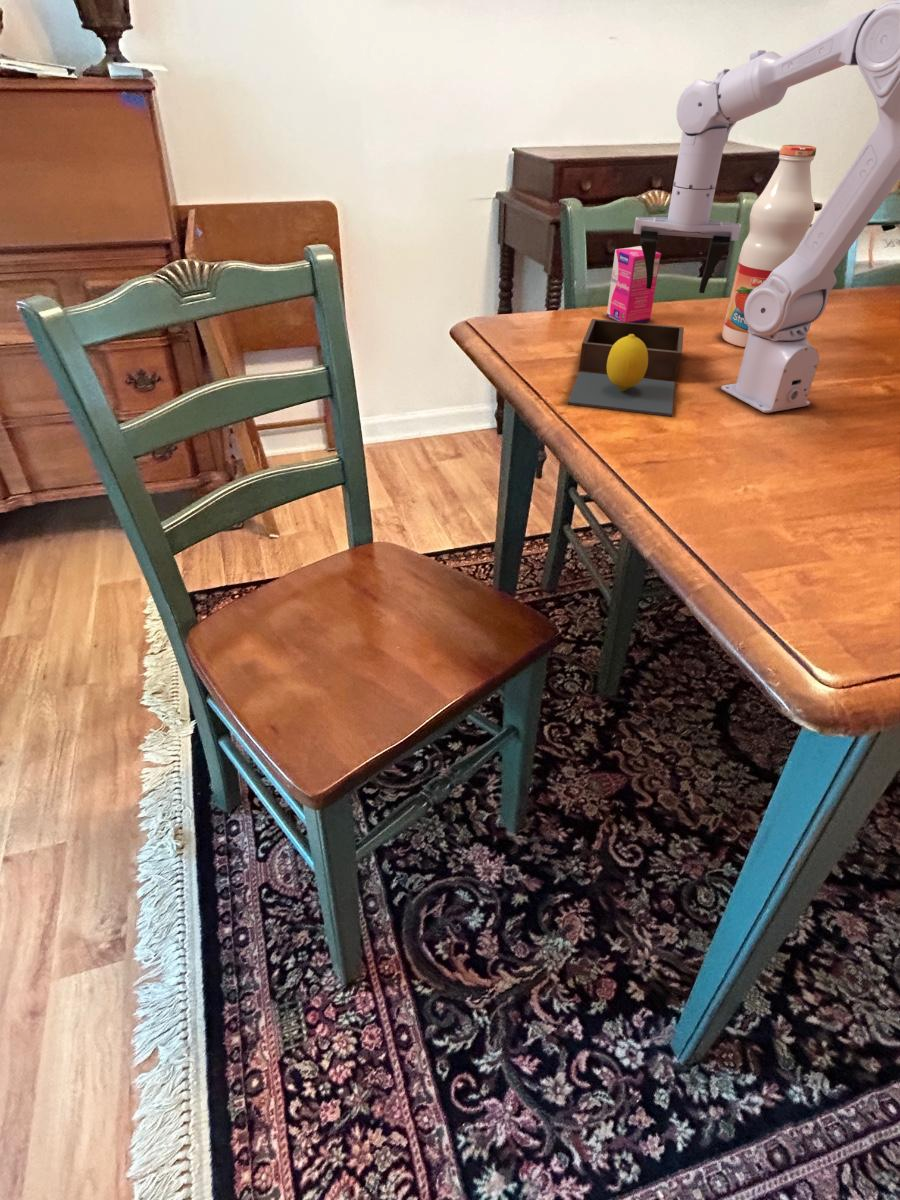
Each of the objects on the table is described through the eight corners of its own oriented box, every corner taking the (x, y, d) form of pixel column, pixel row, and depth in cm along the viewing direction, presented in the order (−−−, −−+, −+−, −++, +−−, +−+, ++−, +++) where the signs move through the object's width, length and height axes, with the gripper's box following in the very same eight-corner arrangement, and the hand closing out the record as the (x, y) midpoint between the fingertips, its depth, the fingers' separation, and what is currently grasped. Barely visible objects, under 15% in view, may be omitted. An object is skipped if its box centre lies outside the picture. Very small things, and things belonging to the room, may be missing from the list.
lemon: (640, 384, 107) (650, 328, 102) (644, 399, 103) (654, 341, 98) (601, 383, 107) (609, 326, 103) (604, 397, 103) (612, 340, 98)
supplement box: (604, 316, 134) (614, 248, 127) (631, 312, 136) (642, 245, 129) (623, 326, 130) (634, 255, 123) (651, 321, 132) (663, 252, 125)
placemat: (674, 384, 109) (675, 381, 108) (671, 416, 99) (672, 413, 99) (579, 374, 111) (579, 371, 111) (567, 404, 102) (567, 401, 102)
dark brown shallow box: (678, 354, 119) (684, 327, 116) (676, 382, 109) (682, 353, 107) (588, 345, 122) (591, 318, 119) (578, 371, 112) (581, 343, 110)
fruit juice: (772, 332, 128) (824, 143, 111) (785, 351, 120) (842, 151, 103) (716, 330, 129) (759, 141, 112) (725, 348, 121) (772, 149, 104)
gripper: (747, 184, 104) (724, 286, 113) (643, 179, 107) (628, 278, 115) (750, 192, 99) (725, 298, 107) (639, 186, 102) (624, 290, 110)
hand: (675, 289), depth 111 cm, fingers open, 7 cm apart
